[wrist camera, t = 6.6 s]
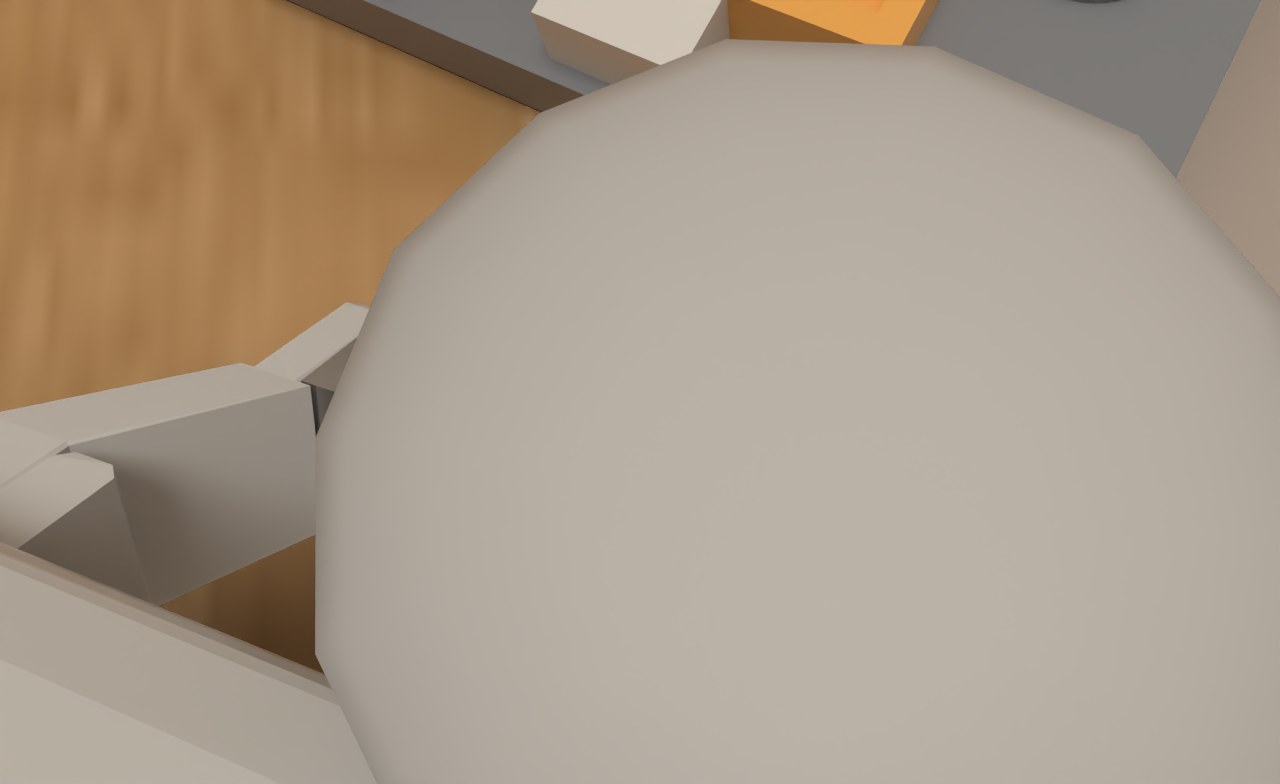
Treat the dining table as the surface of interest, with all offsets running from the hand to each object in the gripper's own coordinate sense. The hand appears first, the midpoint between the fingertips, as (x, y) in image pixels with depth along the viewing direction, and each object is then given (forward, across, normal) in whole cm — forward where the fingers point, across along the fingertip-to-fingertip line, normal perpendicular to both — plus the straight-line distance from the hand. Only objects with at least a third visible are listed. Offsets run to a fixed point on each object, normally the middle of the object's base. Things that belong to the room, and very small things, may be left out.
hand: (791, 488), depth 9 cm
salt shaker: (+5, 0, -5) cm, 7 cm away
